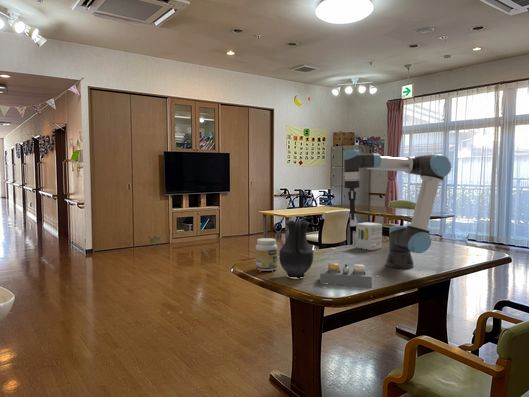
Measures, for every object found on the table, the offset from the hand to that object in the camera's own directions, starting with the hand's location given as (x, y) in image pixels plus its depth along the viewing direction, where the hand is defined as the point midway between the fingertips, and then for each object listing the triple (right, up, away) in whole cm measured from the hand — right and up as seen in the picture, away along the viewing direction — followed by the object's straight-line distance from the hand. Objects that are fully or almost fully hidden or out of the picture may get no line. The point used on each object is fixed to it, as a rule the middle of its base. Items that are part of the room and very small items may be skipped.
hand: (352, 225), depth 204 cm
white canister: (+29, -21, +78) cm, 86 cm away
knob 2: (0, -26, -13) cm, 29 cm away
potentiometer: (-6, -22, -14) cm, 27 cm away
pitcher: (-29, -27, -3) cm, 40 cm away
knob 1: (-12, -26, -10) cm, 30 cm away
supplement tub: (-45, -26, +15) cm, 53 cm away
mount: (-6, -27, -11) cm, 30 cm away
